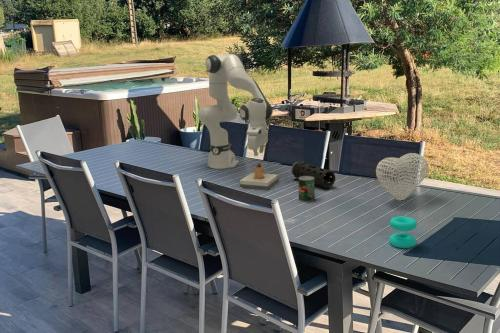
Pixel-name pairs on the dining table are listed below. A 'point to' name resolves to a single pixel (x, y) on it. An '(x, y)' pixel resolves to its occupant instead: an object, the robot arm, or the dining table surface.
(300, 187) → the canned tomato
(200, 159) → the dining table surface
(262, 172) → the plug
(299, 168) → the muzzle brake
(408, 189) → the heart
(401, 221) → the donuts
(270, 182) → the socket block
